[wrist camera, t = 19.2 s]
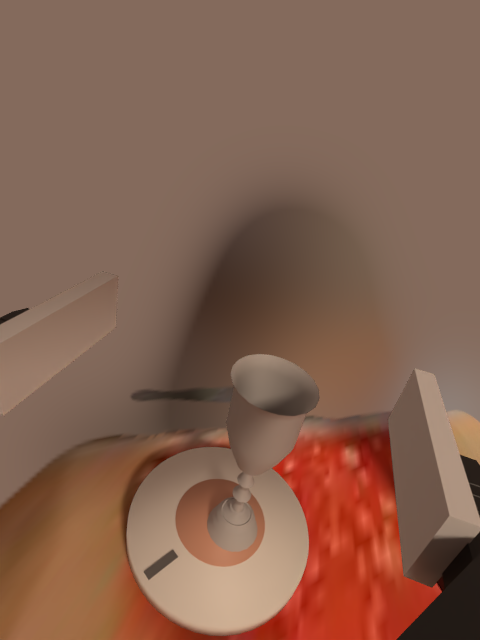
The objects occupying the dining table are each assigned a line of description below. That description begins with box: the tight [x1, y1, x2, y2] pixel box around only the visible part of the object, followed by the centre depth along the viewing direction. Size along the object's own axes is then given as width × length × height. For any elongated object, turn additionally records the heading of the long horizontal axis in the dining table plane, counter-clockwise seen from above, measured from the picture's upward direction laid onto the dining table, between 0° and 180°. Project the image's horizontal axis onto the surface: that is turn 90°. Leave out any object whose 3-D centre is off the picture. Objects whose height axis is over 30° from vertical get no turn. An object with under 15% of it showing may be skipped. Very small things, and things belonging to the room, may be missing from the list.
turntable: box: [126, 447, 309, 636], centre depth 38 cm, size 18×18×2 cm
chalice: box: [207, 354, 319, 552], centre depth 33 cm, size 7×7×18 cm
